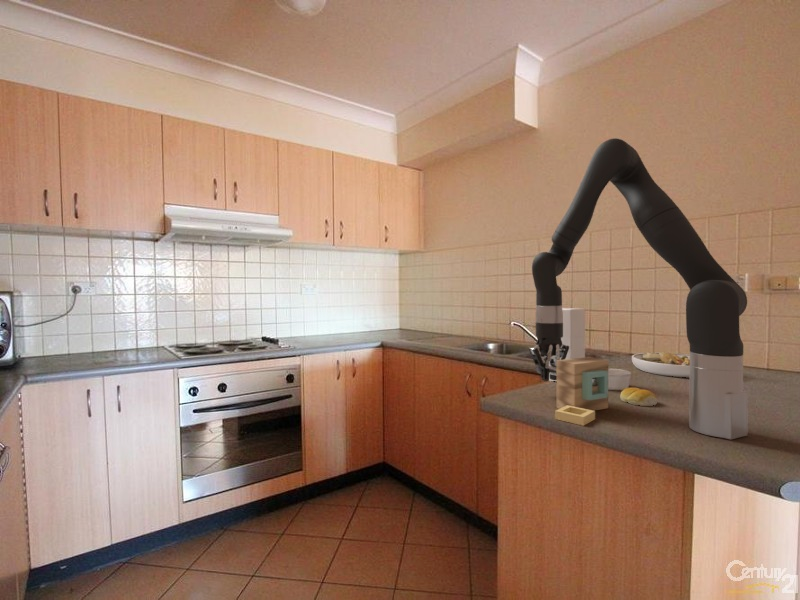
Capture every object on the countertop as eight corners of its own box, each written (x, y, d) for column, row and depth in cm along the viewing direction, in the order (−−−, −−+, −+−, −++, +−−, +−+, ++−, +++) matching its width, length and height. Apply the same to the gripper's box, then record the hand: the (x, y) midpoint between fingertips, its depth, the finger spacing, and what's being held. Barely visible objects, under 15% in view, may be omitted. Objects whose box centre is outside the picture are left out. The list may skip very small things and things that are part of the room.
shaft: (598, 386, 103) (598, 373, 103) (589, 388, 102) (589, 374, 102) (544, 372, 121) (544, 361, 121) (535, 373, 120) (535, 362, 120)
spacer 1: (595, 419, 97) (595, 410, 97) (583, 425, 92) (583, 417, 92) (567, 412, 102) (567, 405, 102) (555, 419, 97) (555, 410, 97)
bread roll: (636, 397, 117) (636, 383, 117) (663, 405, 108) (663, 391, 108) (612, 399, 115) (612, 385, 115) (637, 408, 107) (637, 393, 106)
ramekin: (609, 381, 136) (609, 366, 136) (639, 389, 126) (639, 372, 125) (584, 385, 132) (584, 369, 132) (613, 393, 122) (613, 375, 121)
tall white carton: (571, 385, 131) (571, 309, 130) (547, 380, 138) (547, 308, 137) (585, 381, 136) (585, 308, 136) (561, 377, 143) (561, 307, 143)
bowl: (620, 371, 153) (620, 351, 153) (645, 361, 174) (645, 343, 174) (719, 385, 131) (719, 361, 131) (734, 371, 152) (734, 351, 152)
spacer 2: (607, 397, 103) (608, 371, 103) (588, 400, 100) (588, 373, 100) (601, 395, 105) (601, 369, 105) (582, 398, 102) (582, 372, 102)
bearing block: (608, 408, 106) (608, 360, 106) (574, 413, 101) (574, 364, 101) (589, 402, 111) (589, 356, 111) (556, 407, 107) (556, 360, 106)
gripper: (539, 322, 110) (540, 385, 111) (577, 320, 116) (577, 380, 116) (521, 321, 117) (521, 380, 118) (557, 319, 123) (557, 375, 123)
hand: (549, 379), depth 117 cm, fingers closed on shaft, 2 cm apart
